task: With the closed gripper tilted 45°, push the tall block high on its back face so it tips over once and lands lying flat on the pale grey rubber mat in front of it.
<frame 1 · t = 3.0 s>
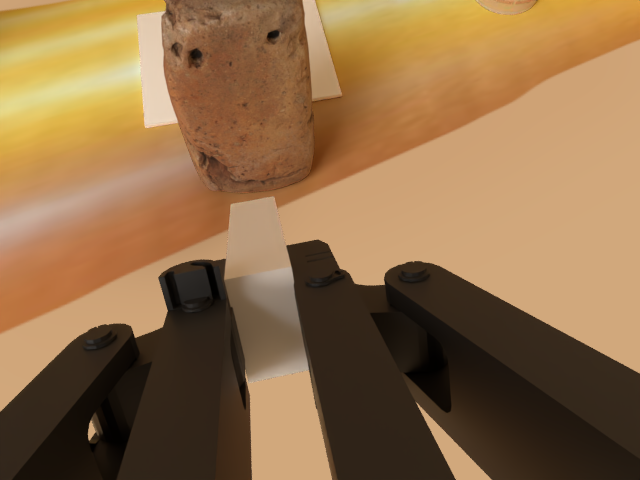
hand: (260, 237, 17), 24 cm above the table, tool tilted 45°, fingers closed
block: (255, 166, 48), on the table
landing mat: (235, 55, 54), on the table
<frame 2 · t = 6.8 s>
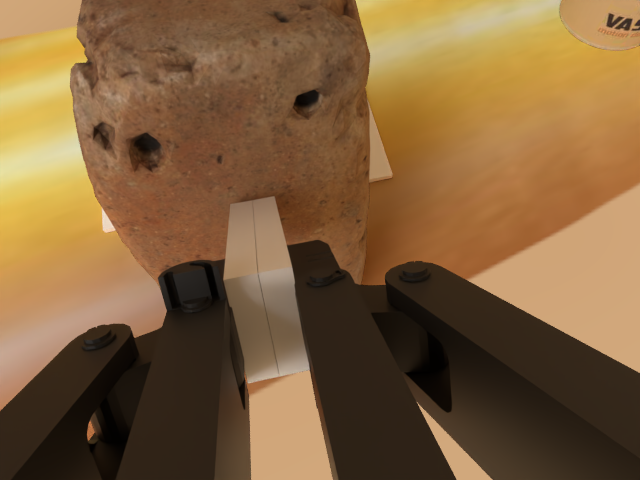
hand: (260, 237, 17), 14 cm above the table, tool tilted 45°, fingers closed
block: (268, 291, 31), on the table, touching gripper
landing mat: (236, 116, 38), on the table
coffee cup: (603, 19, 42), on the table
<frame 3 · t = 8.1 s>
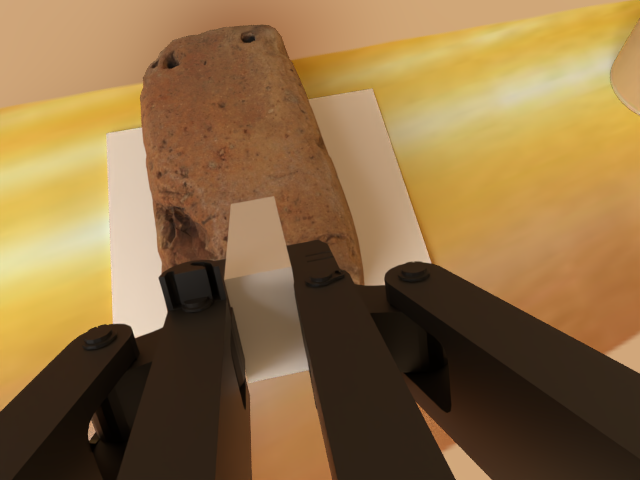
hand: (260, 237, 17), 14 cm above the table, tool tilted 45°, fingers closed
block: (278, 336, 26), point 4 cm above the table, touching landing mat
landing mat: (259, 201, 34), on the table
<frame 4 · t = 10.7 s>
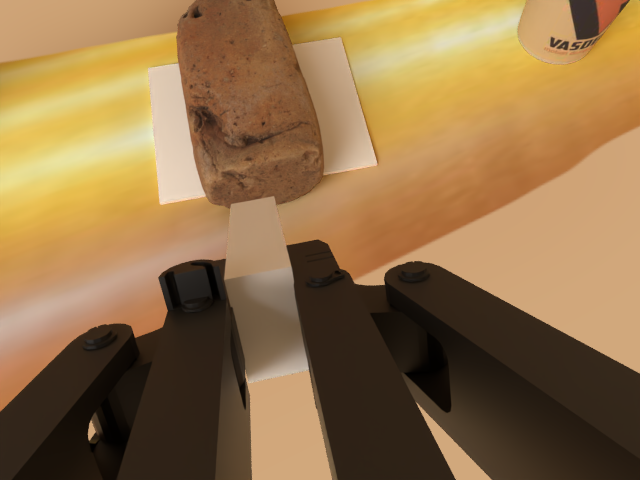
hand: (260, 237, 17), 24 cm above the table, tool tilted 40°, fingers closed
block: (268, 190, 40), point 4 cm above the table, touching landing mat
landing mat: (257, 116, 48), on the table
coffee cup: (553, 37, 52), on the table
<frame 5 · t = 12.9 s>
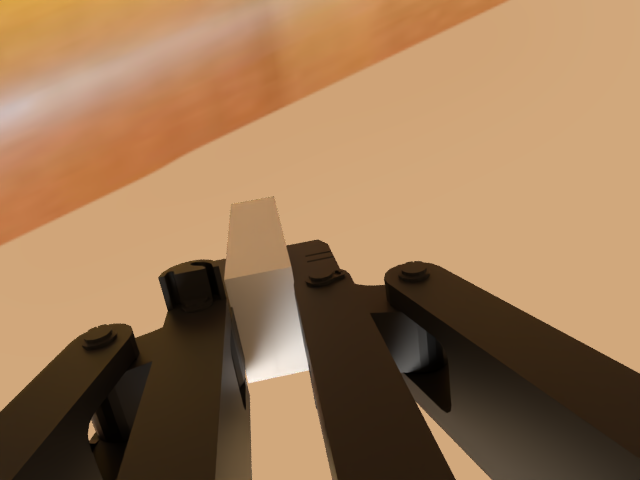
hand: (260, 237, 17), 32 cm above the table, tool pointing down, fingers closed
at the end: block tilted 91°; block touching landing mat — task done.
